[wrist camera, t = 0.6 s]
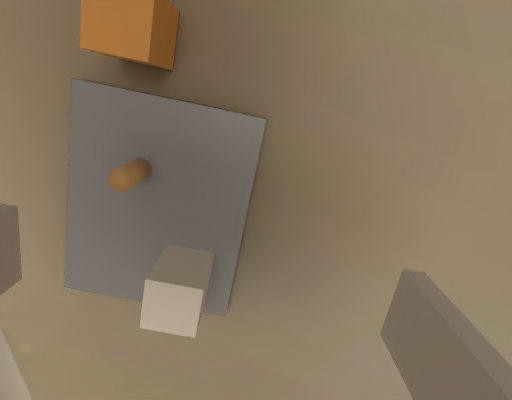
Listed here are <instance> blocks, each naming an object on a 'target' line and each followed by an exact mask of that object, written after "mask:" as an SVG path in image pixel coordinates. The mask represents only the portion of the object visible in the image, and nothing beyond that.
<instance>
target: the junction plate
mask: <svg viewBox="0 0 512 400" xmlns="http://www.w3.org/2000/svg"><path fill="white" fill-rule="evenodd" d="M266 120H267V119H266V118H262V117H258V116H253V115H248V114H243V113H239V112H234V111H229V110H224V109H220V108H215V107H210V106H205V105H201V104H196V103H191V102H187V101H182V100H177V99H172V98H168V97H163V96H158V95H153V94H149V93H144V92H139V91H134V90H130V89H125V88H120V87H115V86H111V85H106V84H101V83H96V82H92V81H87V80H82V79H75V78H71V103H70V133H69V163H68V193H67V222H66V252H65V282H64V287H66V288H71V289H77V290H82V291H88V292H93V293H99V294H105V295H110V296H116V297H121V298H127V299H132V300H138V301H143V302H142V311H141V319H140V328H142V329H148V330H154V331H159V332H165V333H171V334H176V335H182V336H188V337H194V338H195V337H196V333H197V329H198V326H199V322H200V318H201V314H202V312H205V313H210V314H216V315H222V316H226V312H227V307H228V303H229V298H230V293H231V288H232V283H233V279H234V274H235V269H236V264H237V259H238V254H239V250H240V245H241V240H242V235H243V230H244V226H245V221H246V216H247V211H248V206H249V202H250V197H251V192H252V187H253V182H254V177H255V173H256V168H257V163H258V158H259V153H260V149H261V144H262V139H263V134H264V129H265V125H266Z"/></svg>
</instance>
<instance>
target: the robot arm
mask: <svg viewBox="0 0 512 400" xmlns="http://www.w3.org/2000/svg"><path fill="white" fill-rule="evenodd" d="M21 279H22V272H21V255H20V237H19V219H18V206H13V205H6V204H0V295H1V294H2V293H4V292H5V291H6V290H8V289H9V288H10V287H12V286H13V285H14V284H15V283H17V282H18V281H19V280H21ZM380 334H381V336H382V338H383V340H384V342H385V344H386V346H387V348H388V350H389V352H390V354H391V356H392V358H393V360H394V362H395V364H396V366H397V368H398V370H399V372H400V374H401V376H402V378H403V380H404V382H405V384H406V386H407V388H408V390H409V392H410V394H411V396H412V398H413V400H512V367H511V366H510V365H509V363H508V362H507V361H506V360H505V359H504V358H503V357H502V356H501V355H500V354H499V353H498V352H497V350H496V349H495V348H494V347H493V346H492V345H491V344H490V343H489V342H488V341H487V340H486V339H485V337H484V336H483V335H482V334H481V333H480V332H479V331H478V330H477V329H476V328H475V327H474V326H473V324H472V323H471V322H470V321H469V320H468V319H467V318H466V317H465V316H464V315H463V314H462V313H461V311H460V310H459V309H458V308H457V307H456V306H455V305H454V304H453V303H452V302H451V301H450V299H449V298H448V297H447V296H446V295H445V294H444V293H443V292H442V291H441V290H440V289H439V288H438V286H437V285H436V284H435V283H434V282H433V281H432V280H431V279H430V278H429V277H428V276H427V275H426V273H425V272H419V271H413V270H407V269H403V271H402V273H401V276H400V279H399V282H398V285H397V288H396V291H395V293H394V296H393V299H392V302H391V305H390V308H389V311H388V313H387V316H386V319H385V322H384V325H383V328H382V331H381V333H380Z"/></svg>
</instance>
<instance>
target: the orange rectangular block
mask: <svg viewBox="0 0 512 400" xmlns="http://www.w3.org/2000/svg"><path fill="white" fill-rule="evenodd" d="M179 13H180V11H179V10H178V9H177V8H176V7H175V6H174V5H173V4H172V3H171V2H170V0H81V21H80V47H79V48H82V49H86V50H89V51H93V52H96V53H100V54H104V55H107V56H111V57H114V58H118V59H122V60H126V61H131V62H136V63H140V64H145V65H150V66H154V67H159V68H164V69H168V70H173V63H174V55H175V46H176V38H177V30H178V21H179Z"/></svg>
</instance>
